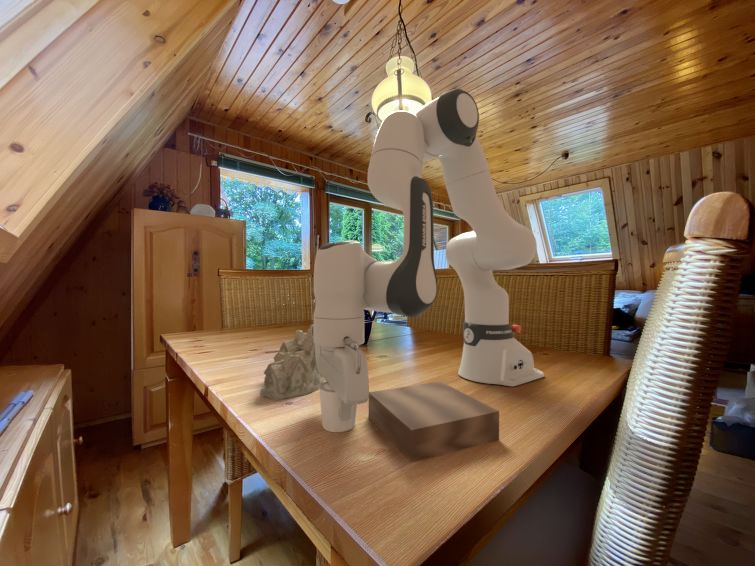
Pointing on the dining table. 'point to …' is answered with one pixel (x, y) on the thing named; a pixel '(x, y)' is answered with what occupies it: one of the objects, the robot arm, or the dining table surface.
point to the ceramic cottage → (293, 369)
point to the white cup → (333, 410)
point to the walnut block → (432, 419)
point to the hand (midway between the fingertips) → (339, 411)
